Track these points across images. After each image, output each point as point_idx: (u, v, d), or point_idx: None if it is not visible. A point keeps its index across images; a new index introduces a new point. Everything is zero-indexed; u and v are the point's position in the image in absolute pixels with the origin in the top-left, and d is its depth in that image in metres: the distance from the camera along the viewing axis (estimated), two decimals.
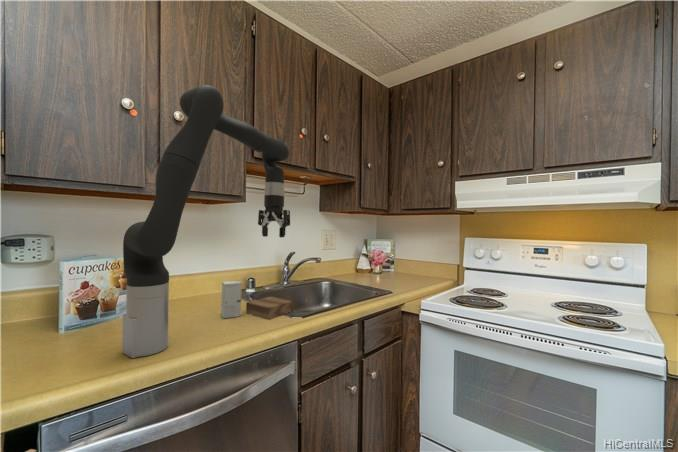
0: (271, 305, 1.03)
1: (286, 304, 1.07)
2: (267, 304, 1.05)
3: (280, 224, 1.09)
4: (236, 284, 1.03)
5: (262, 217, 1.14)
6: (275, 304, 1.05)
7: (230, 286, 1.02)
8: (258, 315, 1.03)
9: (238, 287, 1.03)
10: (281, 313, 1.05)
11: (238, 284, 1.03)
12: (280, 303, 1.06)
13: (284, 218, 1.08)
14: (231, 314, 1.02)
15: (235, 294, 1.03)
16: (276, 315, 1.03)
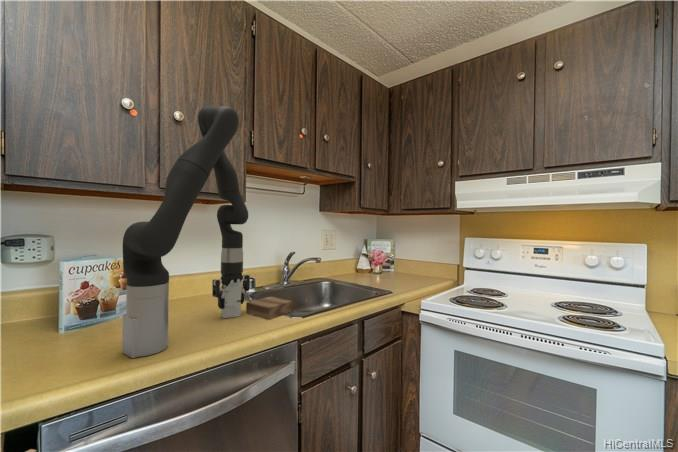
0: (271, 305, 1.03)
1: (286, 304, 1.07)
2: (267, 304, 1.05)
3: (243, 291, 1.07)
4: (236, 284, 1.03)
5: None
6: (275, 304, 1.05)
7: None
8: (258, 315, 1.03)
9: (238, 287, 1.03)
10: (281, 313, 1.05)
11: (238, 284, 1.03)
12: (280, 303, 1.06)
13: (248, 284, 1.08)
14: (231, 314, 1.02)
15: (235, 294, 1.03)
16: (276, 315, 1.03)
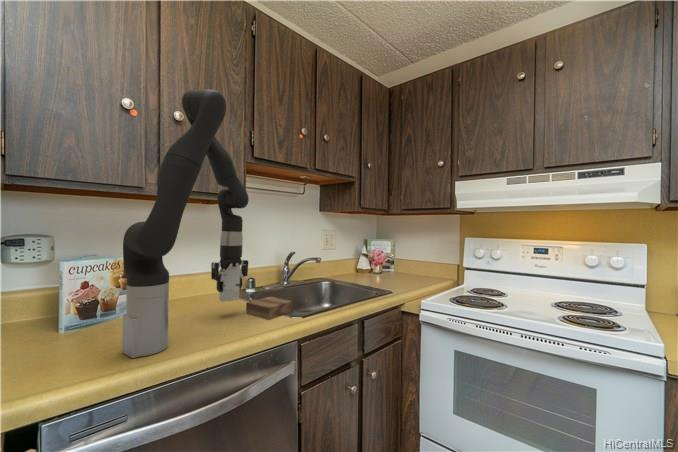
0: (271, 305, 1.03)
1: (286, 304, 1.07)
2: (267, 304, 1.05)
3: (241, 275, 1.06)
4: (235, 268, 1.03)
5: None
6: (275, 304, 1.05)
7: (229, 270, 1.02)
8: (258, 315, 1.03)
9: (237, 271, 1.03)
10: (281, 313, 1.05)
11: (237, 268, 1.03)
12: (280, 303, 1.06)
13: (246, 269, 1.08)
14: (229, 297, 1.02)
15: (234, 277, 1.03)
16: (276, 315, 1.03)
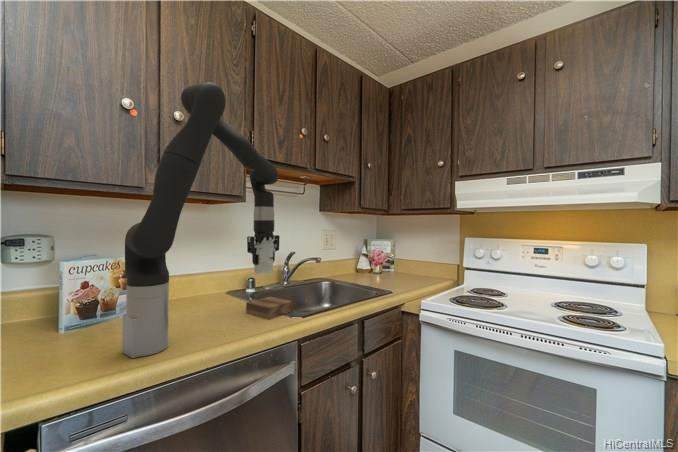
0: (271, 305, 1.03)
1: (286, 304, 1.07)
2: (267, 304, 1.05)
3: (274, 250, 1.11)
4: (268, 242, 1.07)
5: None
6: (275, 304, 1.05)
7: None
8: (258, 315, 1.03)
9: (270, 244, 1.08)
10: (281, 313, 1.05)
11: (270, 242, 1.08)
12: (280, 303, 1.06)
13: (278, 244, 1.13)
14: (264, 270, 1.06)
15: (268, 251, 1.07)
16: (276, 315, 1.03)
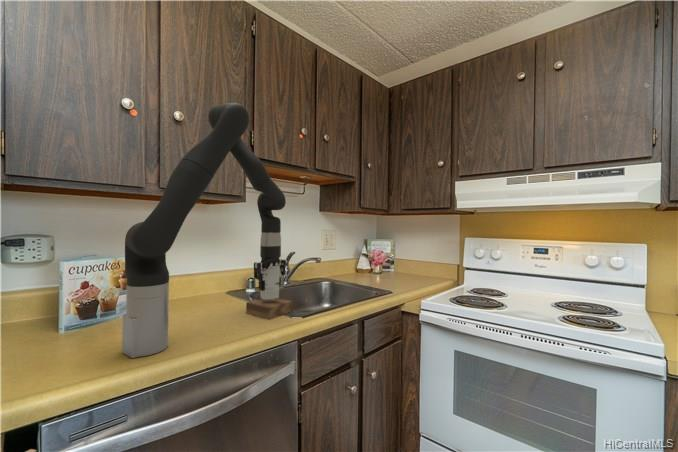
0: (271, 305, 1.03)
1: (286, 304, 1.07)
2: (267, 304, 1.05)
3: (280, 274, 1.11)
4: (275, 267, 1.08)
5: None
6: (275, 304, 1.05)
7: (270, 269, 1.06)
8: (258, 315, 1.03)
9: (277, 270, 1.08)
10: (281, 313, 1.05)
11: (277, 267, 1.08)
12: (280, 303, 1.06)
13: (284, 268, 1.13)
14: (270, 295, 1.06)
15: (274, 276, 1.07)
16: (276, 315, 1.03)
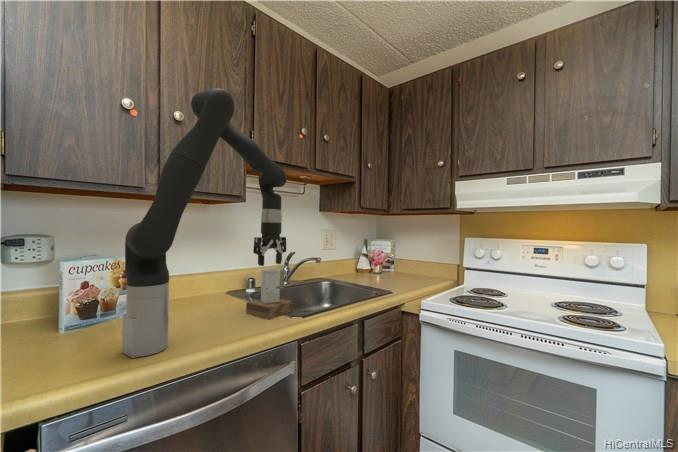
0: (271, 305, 1.03)
1: (286, 304, 1.07)
2: (267, 304, 1.05)
3: (281, 251, 1.12)
4: (275, 271, 1.08)
5: None
6: (275, 304, 1.05)
7: (270, 273, 1.07)
8: (258, 315, 1.03)
9: (277, 274, 1.08)
10: (281, 313, 1.05)
11: (277, 271, 1.08)
12: (280, 303, 1.06)
13: (285, 245, 1.13)
14: (271, 299, 1.07)
15: (274, 280, 1.08)
16: (276, 315, 1.03)
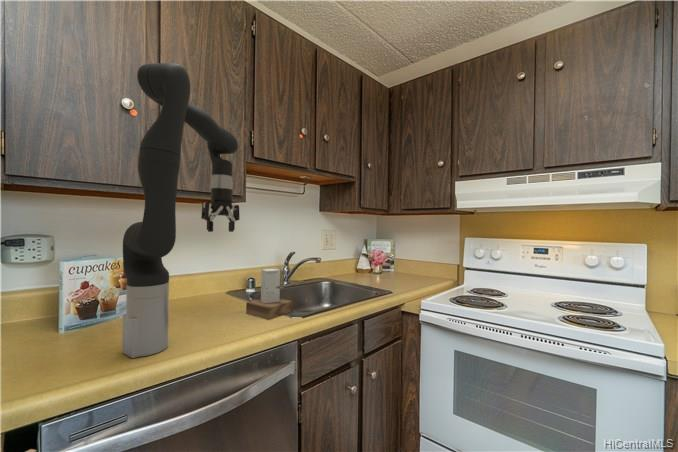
0: (271, 305, 1.03)
1: (286, 304, 1.07)
2: (267, 304, 1.05)
3: (233, 219, 1.11)
4: (275, 271, 1.08)
5: None
6: (275, 304, 1.05)
7: (270, 273, 1.07)
8: (258, 315, 1.03)
9: (277, 274, 1.08)
10: (281, 313, 1.05)
11: (277, 271, 1.08)
12: (280, 303, 1.06)
13: (238, 213, 1.12)
14: (271, 299, 1.07)
15: (274, 280, 1.08)
16: (276, 315, 1.03)
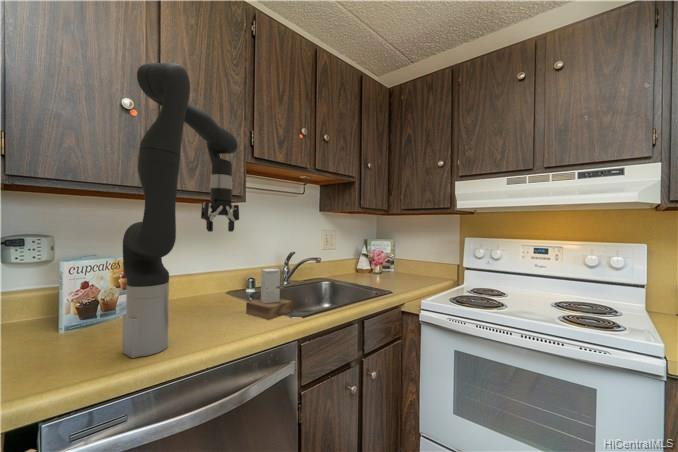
0: (271, 305, 1.03)
1: (286, 304, 1.07)
2: (267, 304, 1.05)
3: (233, 218, 1.11)
4: (275, 271, 1.08)
5: None
6: (275, 304, 1.05)
7: (270, 273, 1.07)
8: (258, 315, 1.03)
9: (277, 274, 1.08)
10: (281, 313, 1.05)
11: (277, 271, 1.08)
12: (280, 303, 1.06)
13: (237, 213, 1.12)
14: (271, 299, 1.07)
15: (274, 280, 1.08)
16: (276, 315, 1.03)
